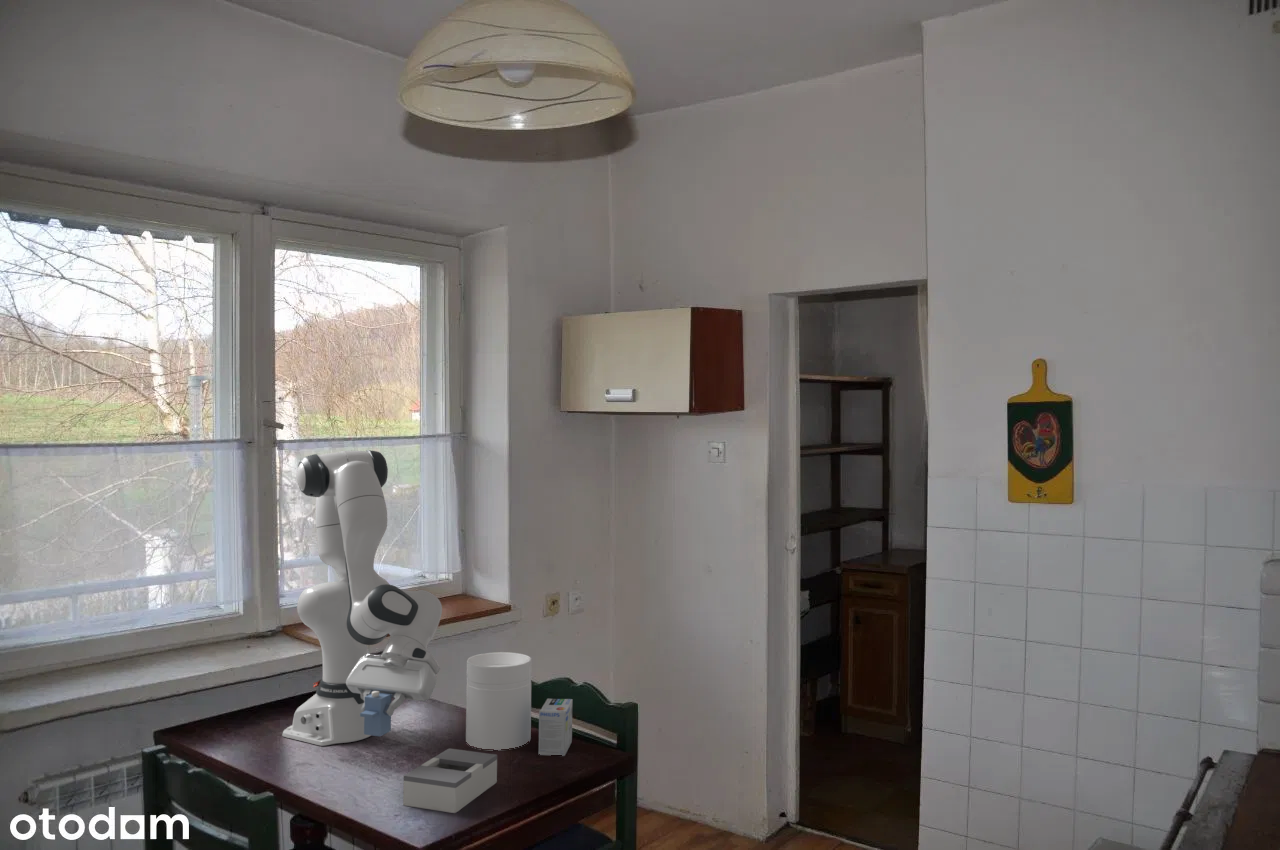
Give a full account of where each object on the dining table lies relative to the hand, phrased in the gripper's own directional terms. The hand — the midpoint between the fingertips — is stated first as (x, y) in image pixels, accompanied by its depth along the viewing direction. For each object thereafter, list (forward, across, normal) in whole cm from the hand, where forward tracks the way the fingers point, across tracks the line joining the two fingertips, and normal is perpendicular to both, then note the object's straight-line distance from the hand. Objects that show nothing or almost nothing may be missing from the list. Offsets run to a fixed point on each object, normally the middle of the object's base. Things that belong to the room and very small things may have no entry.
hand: (376, 712), depth 201 cm
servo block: (+3, 0, +4) cm, 4 cm away
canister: (-15, +10, +38) cm, 42 cm away
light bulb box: (-14, +26, +37) cm, 48 cm away
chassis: (+9, +17, +13) cm, 24 cm away
